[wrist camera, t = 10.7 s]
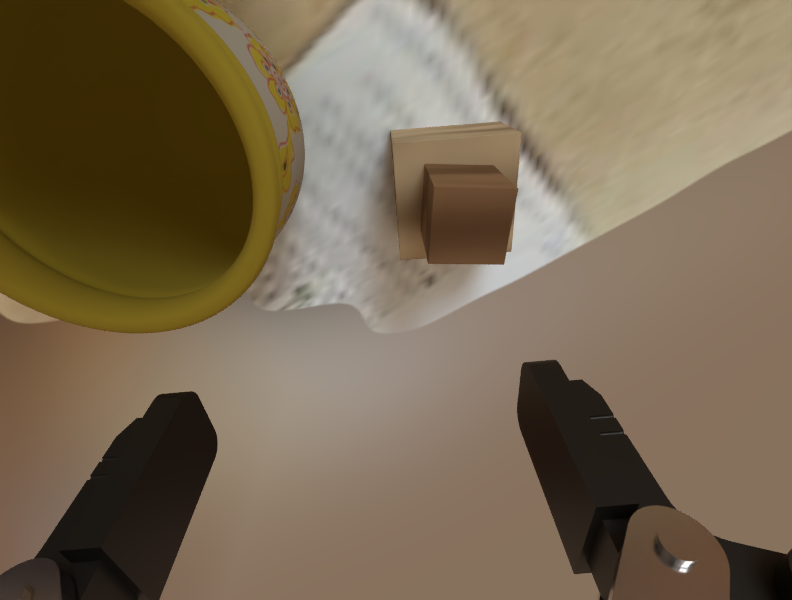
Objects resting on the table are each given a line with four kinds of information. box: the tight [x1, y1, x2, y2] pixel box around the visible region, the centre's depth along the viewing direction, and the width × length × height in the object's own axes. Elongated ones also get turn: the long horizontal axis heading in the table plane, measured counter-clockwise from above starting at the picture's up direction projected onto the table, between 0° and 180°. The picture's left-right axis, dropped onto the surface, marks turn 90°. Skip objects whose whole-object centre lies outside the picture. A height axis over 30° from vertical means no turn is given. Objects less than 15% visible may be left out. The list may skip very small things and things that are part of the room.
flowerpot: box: [0, 0, 305, 333], centre depth 25 cm, size 18×18×16 cm
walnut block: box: [420, 164, 518, 264], centre depth 28 cm, size 5×5×6 cm
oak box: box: [391, 122, 521, 260], centre depth 33 cm, size 9×9×6 cm
